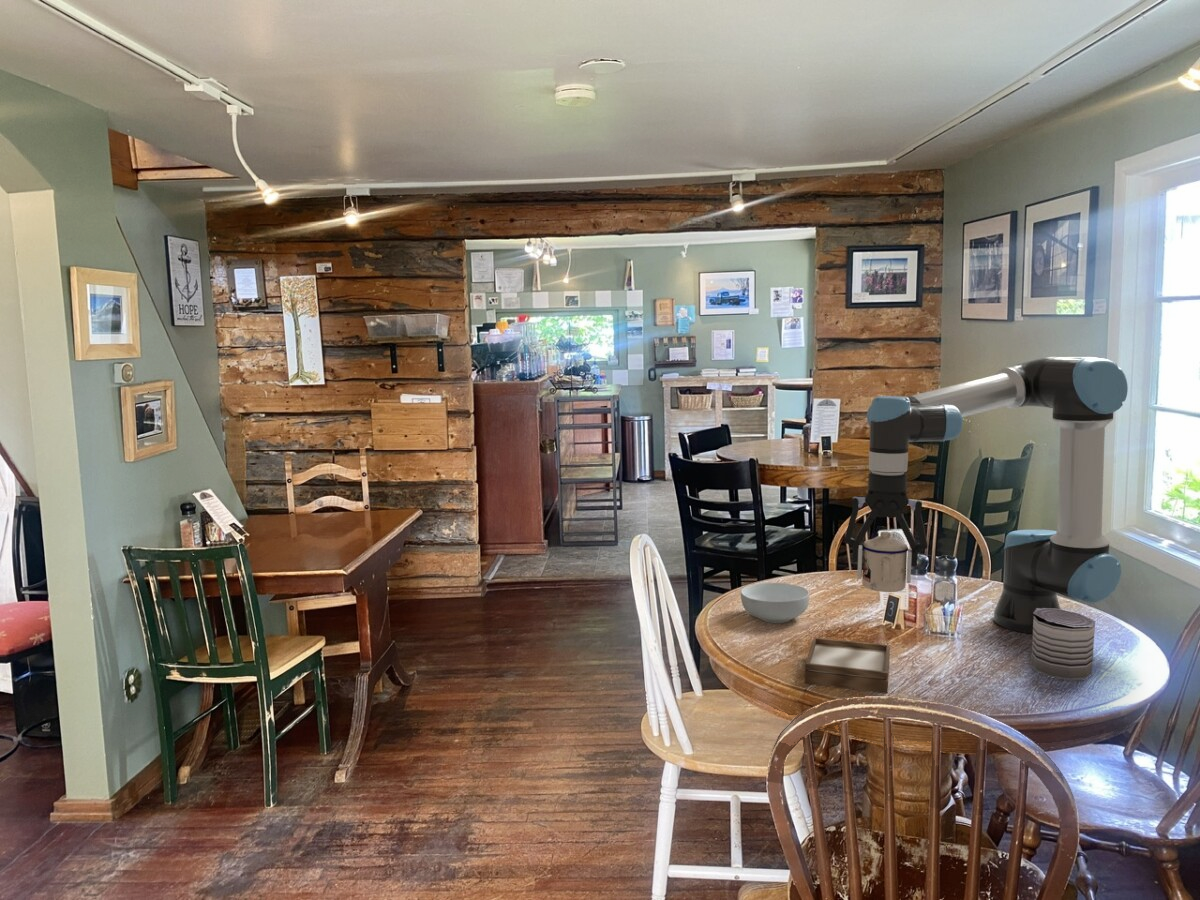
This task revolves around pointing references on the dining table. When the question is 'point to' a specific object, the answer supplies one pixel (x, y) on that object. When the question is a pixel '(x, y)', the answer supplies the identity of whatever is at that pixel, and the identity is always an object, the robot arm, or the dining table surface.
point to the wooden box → (848, 665)
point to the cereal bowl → (775, 601)
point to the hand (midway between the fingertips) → (883, 579)
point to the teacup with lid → (884, 563)
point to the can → (1062, 644)
